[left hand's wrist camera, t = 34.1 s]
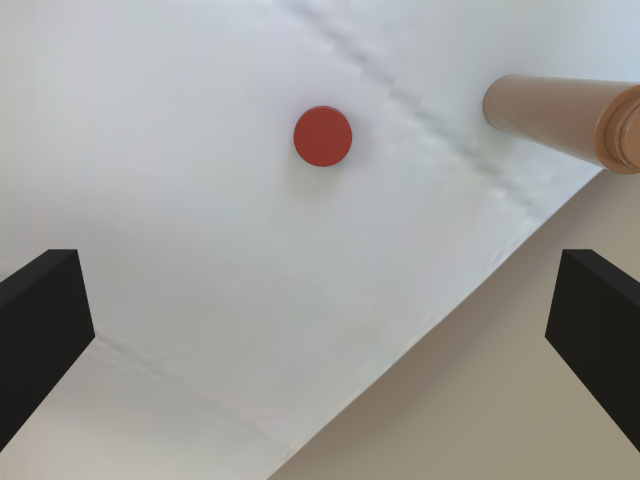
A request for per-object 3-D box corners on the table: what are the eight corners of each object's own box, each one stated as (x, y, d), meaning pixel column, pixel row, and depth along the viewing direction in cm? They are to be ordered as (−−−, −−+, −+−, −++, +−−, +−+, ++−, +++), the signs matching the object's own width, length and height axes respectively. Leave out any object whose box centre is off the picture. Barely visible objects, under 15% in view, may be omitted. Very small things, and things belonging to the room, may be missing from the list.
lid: (312, 172, 41) (312, 176, 40) (284, 124, 40) (282, 126, 38) (360, 145, 41) (362, 148, 39) (333, 95, 39) (334, 96, 37)
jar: (472, 114, 40) (592, 155, 22) (503, 64, 38) (658, 66, 21) (515, 139, 40) (664, 197, 23) (547, 90, 39) (732, 113, 21)
